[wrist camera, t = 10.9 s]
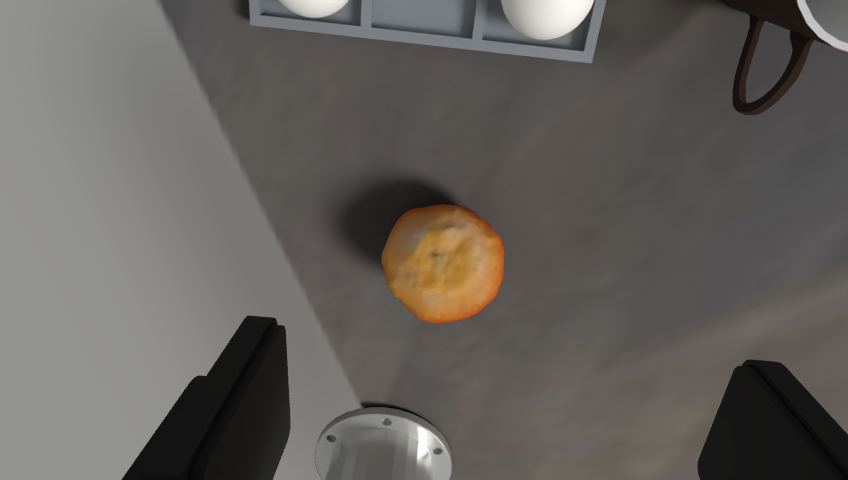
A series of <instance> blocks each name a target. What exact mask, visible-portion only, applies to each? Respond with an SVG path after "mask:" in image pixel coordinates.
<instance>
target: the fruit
mask: <svg viewBox="0 0 848 480" xmlns="http://www.w3.org/2000/svg"><path fill="white" fill-rule="evenodd" d="M381 262H382V265H383V268H384V274H385V281H386V283H387V285H388V287H389V289H390V290H391V292H392V293H393V294H394V295H395V296H396V297H397V298H398V299H399V300H400V301H401V302H402V304H403V305H404V306H405V307H406V308H407V309H408V310H409V311H410V312H411V313H413V314H414V315H415V316H416V317H417V318H419V319H421V320H424V321H427V322H431V323H444V322H451V321H456V320H461V319H464V318H467V317H470V316H472V315H474V314H476V313H477V312H479V311H480V310H481V309H482V308H483V307H485V306H486V305H487V304H488V303H489V302H491V301H492V300H493V298H494V297H495V296H496V294H497V291H498V288H499V286H500V283H501V281H502V279H503V268H504V247H503V244H502V242H501V238H500V236H499V235H498V234H497V233H496V232H495V231H494V229H493V228H492V227H491V226H490V225H489V223H488V222H486V221H485V220H484V219H483V218H482V217H480V216H479V215H478V214H477V213H475V212H474V211H472V210H470V209H468V208H466V207H462V206H456V205H449V204H439V205H433V206H427V207H420V208H413V209H410V210H408V211H407V212H405V213H404V214H403V215H401V216H400V217H399V218H398V220H397V221H396V223H395V225H394V227H393V229H392V231H391V232H390V235H389V238H388V240H387V242H386V245H385V247H384V250H383V252H382V260H381Z"/></svg>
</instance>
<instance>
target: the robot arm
mask: <svg viewBox="0 0 848 480" xmlns="http://www.w3.org/2000/svg"><path fill="white" fill-rule="evenodd" d="M289 432H290V405H289V386H288V366H287V347H286V330H285V327H284V326H282V325H277V321H276V319H275V318H271V317H258V316H247V317H246V318H245V319H244V320H243V322H242V323H241V325H240V326H239V328H238V329H237V331H236V332H235V334H234V335H233V337H232V338H231V340H230V341H229V343H228V344H227V346H226V347H225V349H224V350H223V352H222V353H221V355H220V356H219V358H218V359H217V361H216V362H215V364H214V365H213V367H212V369H211V370H210V371H209V373H208V374H207V376H197V377H195V378H194V379H193V380H192V381H191V382H190V383H189V384H188V386H187V387H186V389H185V390H184V392H183V393H182V394H181V396H180V397H179V399H178V400H177V401H176V403H175V404H174V406H173V407H172V409H171V410H170V411H169V413H168V415H167V416H166V417H165V419H164V420H163V422H162V423H161V424H160V426H159V427H158V429H157V430H156V431H155V433H154V434H153V436H152V437H151V439H150V440H149V442H148V443H147V444H146V446H145V447H144V449H143V450H142V451H141V453H140V454H139V456H138V457H137V458H136V460H135V462H134V463H133V464H132V466H131V467H130V468H129V470H128V471H127V473H126V474H125V476H124V477H123V478H122V480H273V477H274V475H275V472H276V469H277V466H278V464H279V461H280V459H281V456H282V454H283V451H284V449H285V446H286V443H287V441H288V437H289ZM315 465H316V469H317V472H318V474H319V476H320V477H321V479H322V480H449V479H450V476H451V468H452V459H451V451H450V449H449V446H448V443H447V442H446V440H445V439H444V437H443V436H442V434H441V433H440V432H439V431H438V430H437V429H436V428H435V427H434V426H432V425H431V424H430V423H428V422H427V421H425V420H424V419H422V418H420V417H418V416H416V415H414V414H412V413H408V412H405V411H402V410H399V409H392V408H386V407H369V408H362V409H357V410H354V411H351V412H347V413H345V414H343V415H341V416H339V417H337V418H335V420H333V421H332V422H330V423H329V424H328V425H327V426H326V428H325V429H324V430H323V431H322V433H321V435H320V437H319V440H318V443H317V447H316V450H315ZM698 474H699V477H700V480H848V434H847V433H846V432H845V431H844V430H843V429H842V428H841V427H840V426H839V425H838V424H837V422H836V421H835V420H834V419H833V418H832V417H831V416H830V415H829V414H828V413H827V412H826V410H825V409H824V408H823V407H822V406H821V405H820V404H819V403H818V402H817V401H816V400H815V398H814V397H813V396H812V395H811V394H810V393H809V392H808V391H807V390H806V389H805V388H804V386H803V385H802V384H801V383H800V382H799V381H798V380H797V379H796V378H795V377H794V376H793V374H792V373H791V372H790V371H789V370H788V369H787V368H786V367H785V366H784V365H783V364H781V363H779V362H773V361H762V360H746V361H745V362H744V363H743V364H742V366H737V367H736V368H735V370H734V371H733V374H732V376H731V379H730V381H729V384H728V386H727V389H726V391H725V394H724V396H723V399H722V401H721V404H720V407H719V409H718V412H717V414H716V417H715V419H714V422H713V424H712V427H711V429H710V432H709V434H708V437H707V439H706V442H705V444H704V447H703V450H702V452H701V455H700V457H699V460H698Z"/></svg>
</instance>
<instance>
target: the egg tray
mask: <svg viewBox="0 0 848 480" xmlns="http://www.w3.org/2000/svg"><path fill="white" fill-rule="evenodd" d="M605 4H606V0H594V2H593V5H592V7H591V9H590V11H589V13H588V14H587V16H586V17H585V18H584V20H583V21H582V22H581V23H580V24H579V25H578V26H577V27H576V28H575V29H573V30H572V31H570V32H569V33H567V34H565V35H563V36H561V37H558V38H554V39H548V40H539V39H534V38H530V37H527V36H525V35H523V34H522V33H520V32H519V31H517V30H516V29H515V28H514V27H513V26H512V25H511V23H510V22H509V21H508V19H507V17H506V15H505V13H504V11H503V7H502V3H501V0H349V1H348V2H347V3H346V4H345V5H344V6H343V7H342V8H341V9H340V10H338V11H337V12H335V13H333V14H331V15H329V16H325V17H320V18H310V17H304V16H301V15H298V14H296V13H294V12H292V11H290V10H289V9H287V8H286V7H285V6H283V5H282V4H281V3H280V2H279V1H278V0H249V11H250V25H254V26H263V27H272V28H281V29H290V30H299V31H308V32H317V33H326V34H334V35H343V36H352V37H361V38H370V39H379V40H388V41H397V42H406V43H415V44H424V45H433V46H442V47H451V48H460V49H469V50H477V51H486V52H495V53H504V54H513V55H522V56H531V57H540V58H549V59H558V60H567V61H576V62H585V63H592V60H593V56H594V51H595V47H596V43H597V38H598V34H599V30H600V26H601V21H602V17H603V13H604V8H605Z"/></svg>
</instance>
